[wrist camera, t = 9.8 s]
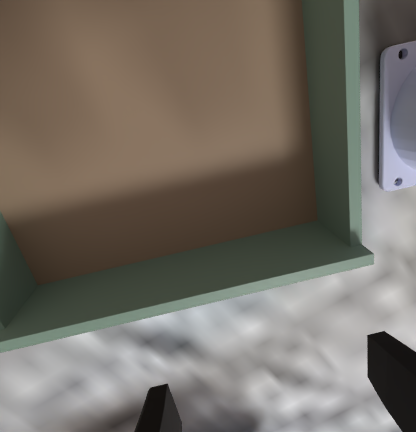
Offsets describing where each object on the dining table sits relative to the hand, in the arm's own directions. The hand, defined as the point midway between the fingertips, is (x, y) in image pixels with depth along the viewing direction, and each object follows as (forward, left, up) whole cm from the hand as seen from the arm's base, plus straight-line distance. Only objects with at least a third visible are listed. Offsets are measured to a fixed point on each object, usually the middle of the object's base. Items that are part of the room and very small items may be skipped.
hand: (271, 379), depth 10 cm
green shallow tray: (+3, -9, -9) cm, 13 cm away
